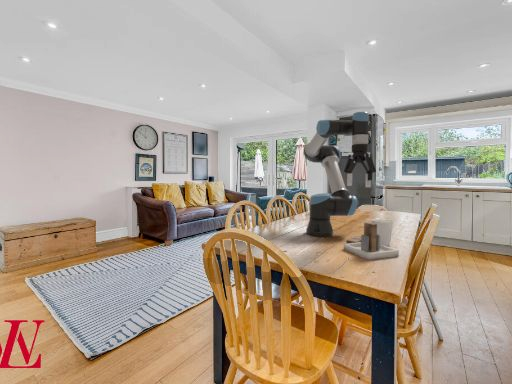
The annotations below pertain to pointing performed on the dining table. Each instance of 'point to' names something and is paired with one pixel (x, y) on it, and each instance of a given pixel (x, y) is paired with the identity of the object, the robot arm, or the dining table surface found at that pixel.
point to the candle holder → (384, 230)
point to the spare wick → (354, 240)
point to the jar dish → (363, 251)
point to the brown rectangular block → (371, 234)
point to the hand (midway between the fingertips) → (358, 186)
